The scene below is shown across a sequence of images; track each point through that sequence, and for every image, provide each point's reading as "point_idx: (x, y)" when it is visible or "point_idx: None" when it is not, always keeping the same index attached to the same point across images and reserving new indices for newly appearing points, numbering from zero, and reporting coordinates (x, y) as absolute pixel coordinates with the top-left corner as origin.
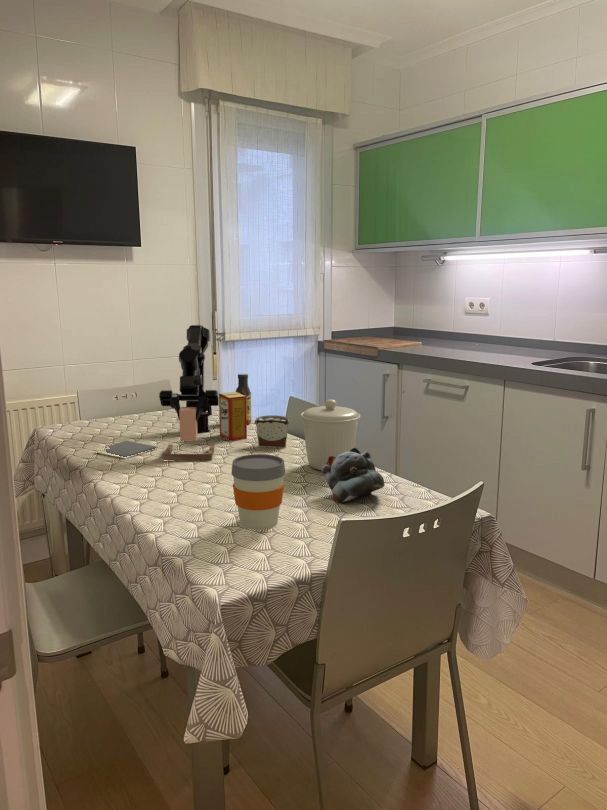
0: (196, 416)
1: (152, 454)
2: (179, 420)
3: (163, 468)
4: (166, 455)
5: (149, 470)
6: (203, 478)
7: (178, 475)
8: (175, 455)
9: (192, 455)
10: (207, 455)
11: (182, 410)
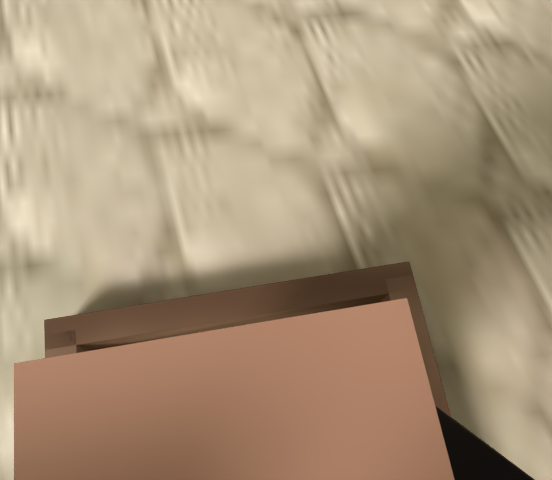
0: None
1: (549, 439)
2: None
3: (336, 136)
4: (383, 266)
5: (400, 96)
6: (71, 5)
7: (213, 35)
8: (318, 276)
9: (194, 297)
10: (79, 315)
11: (331, 311)
